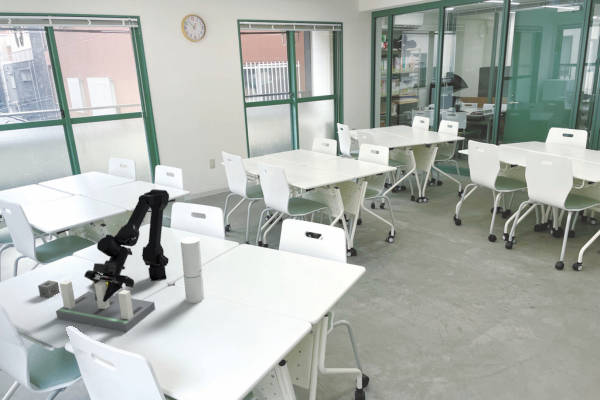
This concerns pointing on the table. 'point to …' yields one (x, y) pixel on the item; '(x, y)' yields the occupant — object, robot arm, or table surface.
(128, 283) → the robot arm
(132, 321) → the slotted peg board
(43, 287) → the dice cube
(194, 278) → the cylindrical container
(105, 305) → the handle
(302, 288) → the table surface
